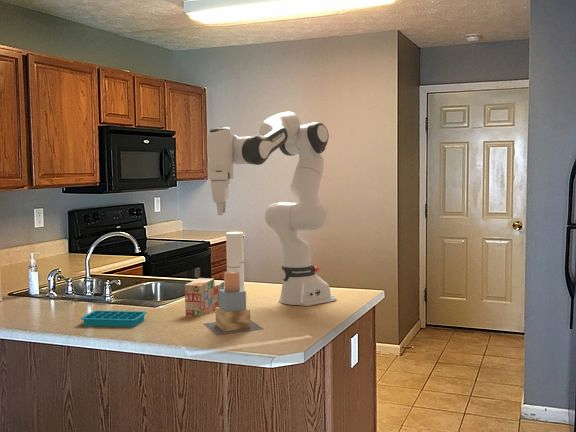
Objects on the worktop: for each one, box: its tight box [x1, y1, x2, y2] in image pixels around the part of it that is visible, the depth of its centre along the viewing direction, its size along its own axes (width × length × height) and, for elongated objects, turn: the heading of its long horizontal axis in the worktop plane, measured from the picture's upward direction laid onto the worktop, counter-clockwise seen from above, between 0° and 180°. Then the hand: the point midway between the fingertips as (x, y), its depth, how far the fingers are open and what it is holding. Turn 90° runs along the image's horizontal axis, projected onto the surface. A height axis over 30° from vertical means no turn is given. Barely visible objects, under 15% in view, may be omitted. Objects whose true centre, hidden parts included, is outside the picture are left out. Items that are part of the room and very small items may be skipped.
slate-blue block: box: [219, 288, 247, 312], centre depth 210 cm, size 7×7×6 cm
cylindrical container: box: [225, 231, 245, 291], centre depth 270 cm, size 7×7×25 cm
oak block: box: [214, 307, 251, 331], centre depth 210 cm, size 9×9×6 cm
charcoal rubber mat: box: [203, 319, 265, 337], centre depth 210 cm, size 16×16×1 cm
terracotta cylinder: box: [223, 271, 240, 292], centre depth 209 cm, size 5×5×6 cm
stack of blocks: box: [184, 277, 225, 318], centre depth 236 cm, size 21×6×12 cm, turn 162°
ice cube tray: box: [80, 310, 147, 328], centre depth 222 cm, size 12×20×3 cm, turn 81°
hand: (221, 214), depth 221 cm, fingers open, 8 cm apart
